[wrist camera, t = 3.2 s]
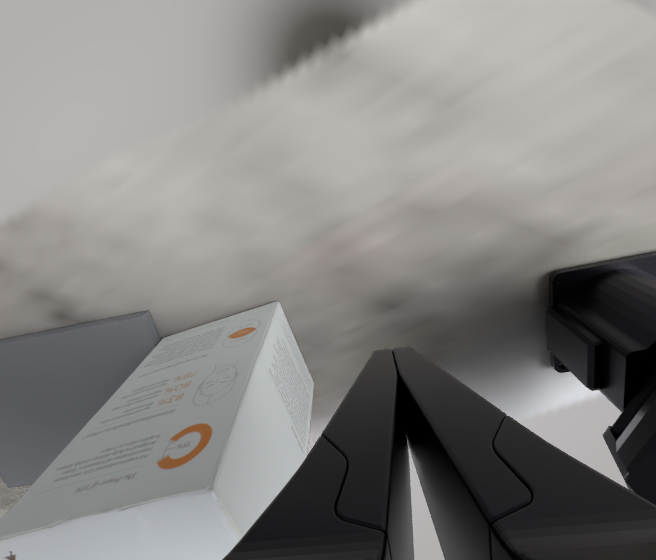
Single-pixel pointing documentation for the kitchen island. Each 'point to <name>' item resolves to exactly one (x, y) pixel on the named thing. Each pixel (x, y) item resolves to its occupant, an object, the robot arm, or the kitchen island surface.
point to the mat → (62, 386)
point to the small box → (176, 451)
